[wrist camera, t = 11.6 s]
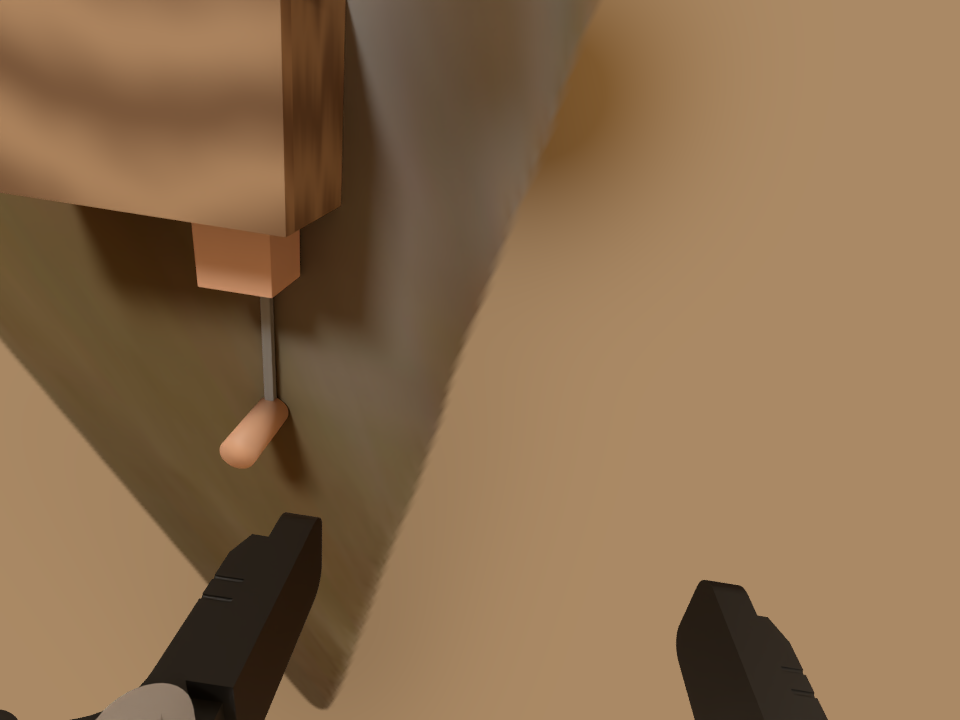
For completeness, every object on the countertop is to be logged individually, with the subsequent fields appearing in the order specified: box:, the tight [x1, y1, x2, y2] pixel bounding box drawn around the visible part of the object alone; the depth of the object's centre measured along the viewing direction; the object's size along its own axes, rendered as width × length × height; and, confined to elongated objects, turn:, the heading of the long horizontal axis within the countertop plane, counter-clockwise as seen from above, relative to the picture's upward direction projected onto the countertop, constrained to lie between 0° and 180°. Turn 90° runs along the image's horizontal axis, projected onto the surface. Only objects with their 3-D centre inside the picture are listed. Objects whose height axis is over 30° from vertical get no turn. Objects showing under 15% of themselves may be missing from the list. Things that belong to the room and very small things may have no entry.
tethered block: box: [191, 223, 300, 469], centre depth 37 cm, size 18×5×6 cm, turn 172°
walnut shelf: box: [0, 0, 346, 237], centre depth 29 cm, size 12×20×9 cm, turn 82°
